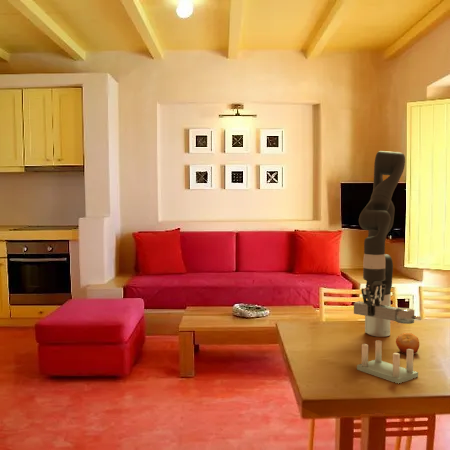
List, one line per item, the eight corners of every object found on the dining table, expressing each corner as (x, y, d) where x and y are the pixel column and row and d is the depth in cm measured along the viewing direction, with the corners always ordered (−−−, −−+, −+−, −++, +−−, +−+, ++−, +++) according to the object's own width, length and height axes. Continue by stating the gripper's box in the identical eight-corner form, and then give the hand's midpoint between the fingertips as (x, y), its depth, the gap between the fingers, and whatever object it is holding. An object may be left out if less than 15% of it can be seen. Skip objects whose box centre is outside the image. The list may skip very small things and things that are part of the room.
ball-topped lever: (351, 314, 181) (352, 303, 181) (360, 311, 186) (360, 300, 185) (416, 325, 164) (416, 313, 164) (424, 322, 169) (424, 310, 168)
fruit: (418, 345, 187) (419, 329, 183) (419, 361, 181) (419, 346, 177) (395, 343, 190) (396, 328, 186) (395, 359, 184) (395, 344, 180)
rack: (356, 369, 166) (357, 344, 165) (376, 363, 172) (376, 339, 171) (398, 383, 153) (398, 356, 152) (418, 376, 159) (418, 350, 158)
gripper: (373, 269, 170) (373, 320, 171) (393, 265, 180) (393, 313, 181) (354, 267, 175) (353, 316, 176) (374, 263, 185) (374, 309, 186)
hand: (373, 314), depth 178 cm, fingers closed on ball-topped lever, 3 cm apart
